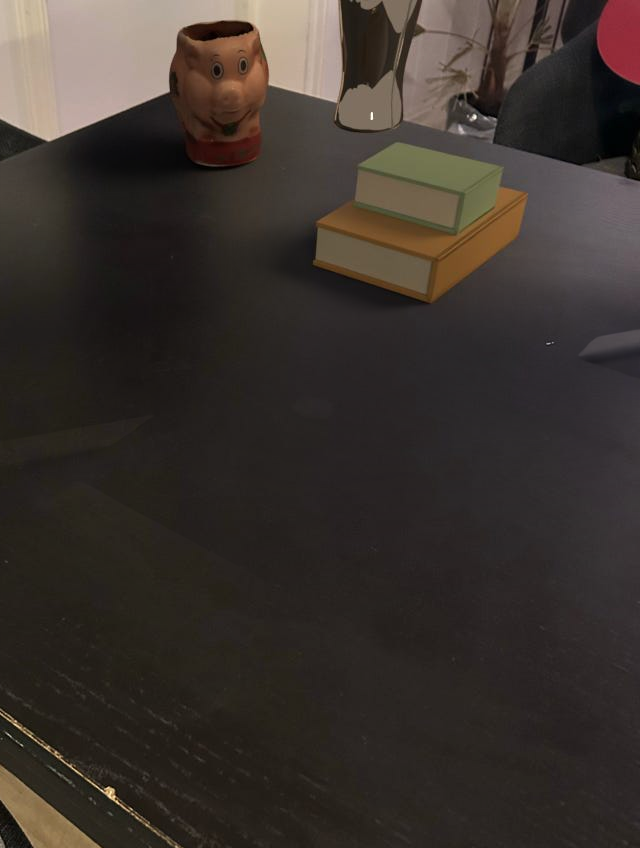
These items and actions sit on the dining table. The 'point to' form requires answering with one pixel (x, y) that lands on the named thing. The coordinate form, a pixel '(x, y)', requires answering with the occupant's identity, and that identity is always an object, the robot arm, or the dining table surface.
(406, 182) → the small book
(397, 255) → the big book
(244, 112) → the decorative planter
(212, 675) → the dining table surface
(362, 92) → the beer glass
